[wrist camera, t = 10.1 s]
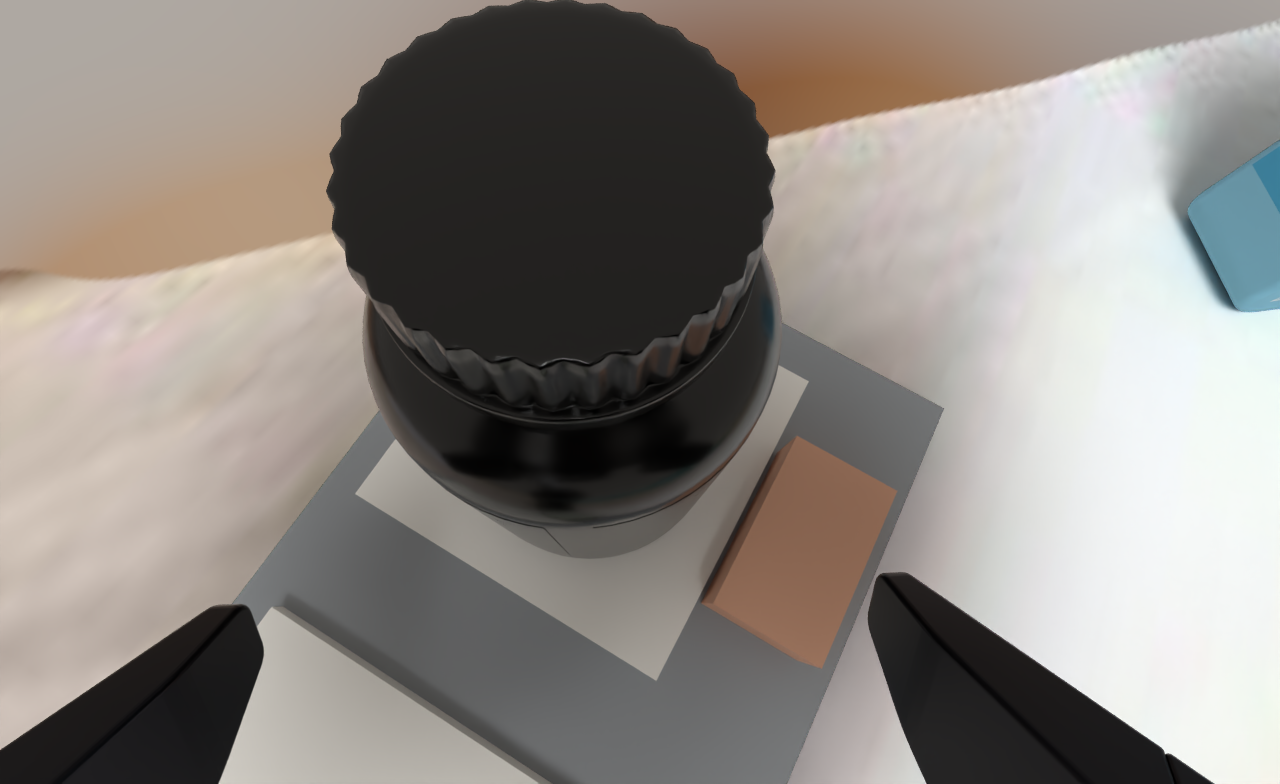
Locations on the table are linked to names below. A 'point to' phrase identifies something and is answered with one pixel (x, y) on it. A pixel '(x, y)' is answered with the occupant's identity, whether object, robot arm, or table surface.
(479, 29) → the supplement bottle
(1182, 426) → the table surface
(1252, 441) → the table surface
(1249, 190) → the blue rounded square block
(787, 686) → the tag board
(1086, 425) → the table surface
